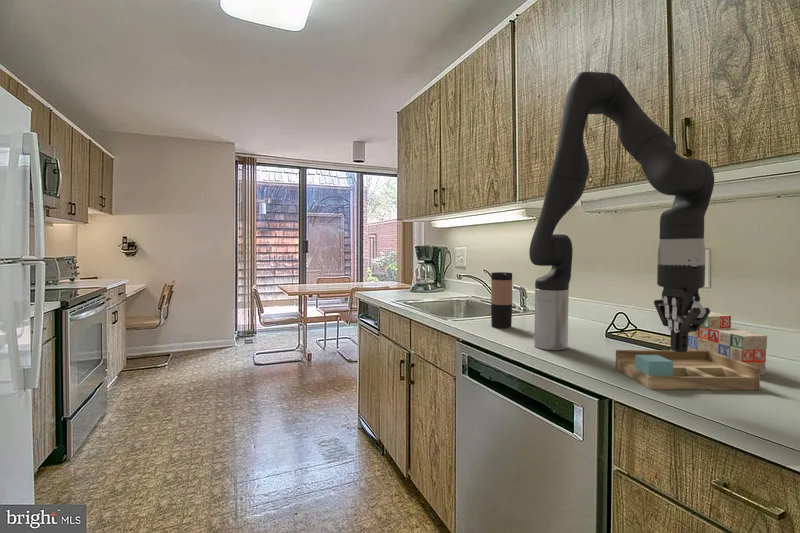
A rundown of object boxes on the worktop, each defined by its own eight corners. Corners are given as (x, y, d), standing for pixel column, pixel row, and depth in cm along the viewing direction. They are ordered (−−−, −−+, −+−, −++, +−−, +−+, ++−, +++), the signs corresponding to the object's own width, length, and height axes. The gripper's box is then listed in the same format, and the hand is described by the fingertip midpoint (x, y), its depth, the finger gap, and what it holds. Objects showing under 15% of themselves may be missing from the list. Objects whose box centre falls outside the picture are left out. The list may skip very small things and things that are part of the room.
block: (634, 368, 87) (635, 354, 87) (657, 368, 87) (658, 354, 87) (648, 375, 82) (648, 361, 82) (672, 375, 82) (673, 361, 82)
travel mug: (493, 323, 150) (493, 272, 149) (513, 325, 146) (514, 272, 145) (488, 327, 143) (489, 273, 142) (509, 329, 139) (510, 273, 138)
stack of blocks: (766, 375, 89) (768, 322, 89) (741, 376, 89) (743, 323, 88) (690, 350, 111) (691, 307, 110) (669, 351, 110) (670, 308, 110)
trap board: (615, 368, 95) (615, 350, 95) (707, 368, 94) (708, 350, 94) (650, 389, 81) (651, 368, 81) (759, 390, 80) (760, 368, 80)
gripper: (641, 261, 82) (639, 343, 83) (684, 264, 69) (682, 360, 70) (677, 261, 82) (675, 343, 83) (728, 263, 69) (725, 360, 69)
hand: (678, 351), depth 76 cm, fingers closed
